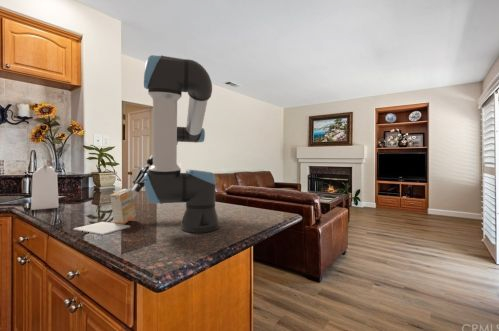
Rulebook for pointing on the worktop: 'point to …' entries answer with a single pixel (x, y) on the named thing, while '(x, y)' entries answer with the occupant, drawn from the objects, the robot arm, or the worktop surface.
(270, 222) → the worktop surface
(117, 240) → the worktop surface
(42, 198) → the milk
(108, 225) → the mat
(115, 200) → the supplement box
